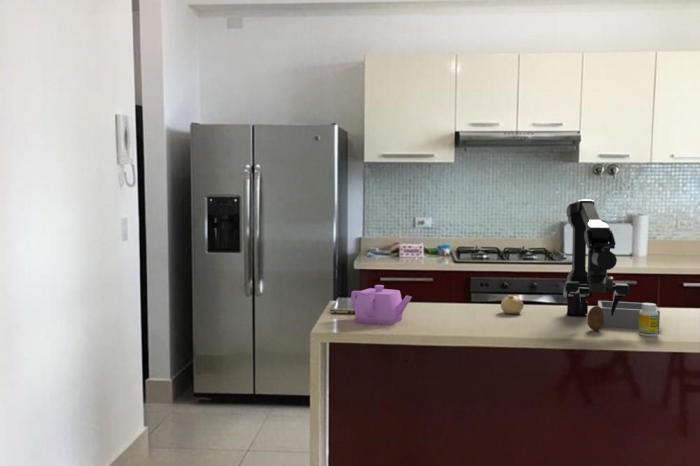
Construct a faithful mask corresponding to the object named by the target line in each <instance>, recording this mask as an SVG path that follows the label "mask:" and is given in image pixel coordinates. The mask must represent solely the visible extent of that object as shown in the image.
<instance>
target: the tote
mask: <svg viewBox="0 0 700 466" xmlns="http://www.w3.org/2000/svg"><path fill="white" fill-rule="evenodd" d="M612 302H613V300H612V301H610V300H597V306H599V307H600V308H601V309H602V311H603V314H604V325H603V327H614V328H624V329H625V328H627V329H628V328H629V329H639V312H640V310H643V308H642V303H643V302H631V301H630V302H628V301H619V302H618V303H617V306H616V308H615V311H614V314H613V316H611V308H612ZM655 311H657V312H658V331H659V330H660V319H661V318H660V316H661V315H660V314H661V311H660V309H659V308H658V305H656V309H655Z"/></svg>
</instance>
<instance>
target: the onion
mask: <svg viewBox="0 0 700 466" xmlns="http://www.w3.org/2000/svg"><path fill="white" fill-rule="evenodd" d="M500 303H501V304H500V308H501V310H502V311H503V313H505V314H516V315H517V314H520V313H521V312H522V311H523V309H524V302H523V300H522V299H521V298H520V297H519V296H516V295H510V294H507V296H505V297H504V298H503V299H502V300H501V302H500Z"/></svg>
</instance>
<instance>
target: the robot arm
mask: <svg viewBox="0 0 700 466" xmlns="http://www.w3.org/2000/svg"><path fill="white" fill-rule="evenodd" d="M566 216H567V222H568V223H569V225H570V227H571V228H572V245H571V246H572V249H571V250H572V253H571V254H572V255H571V256H572V258H571V259H572V260H571V265H572V266H571V270H570V271H569V273H568V274H567V276H566V281H565V283H564V287H563V290H562V293H563V297H564V298H565V299H567V303H566V304H567V306H566V308H567V309H566V310H567V311H566V316H570V317H571V316H572V317H575V316H576V317H587V315H588V313H589V301H587V299H589V300H591V298H592V293H602V294H603V293H606V292H613V295H612V301H613V302H612V308H611V316H613V314H614V311H615V308H616V306H617V303H618V302H620V300H621V298H625V297H626V296H630V286H629V284H628V283H624V282H623V283H619V282H615V284H614V283H613V282H614V277H613V276H608V270H612V269H614V268H615V267H616V265H617V261H618V258H617V257H616V254H615V253H613V252H612V251H611V250H615V248H616V241H615V236H614V233H613V230H612V229H611V228H610V227H609V225H608V224H607V223H606V222H604V221H602V220H601V218H600V216H599V214H598V212H597V209H596V207H595V200H592V199H580V200H577V201H576V202H573V203H570V204H569V205H567V208H566ZM587 249H588V250H587ZM586 260H587V261H586ZM586 264H587V267H586ZM586 268H587V270H586Z"/></svg>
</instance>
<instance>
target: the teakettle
mask: <svg viewBox="0 0 700 466" xmlns="http://www.w3.org/2000/svg"><path fill="white" fill-rule="evenodd" d="M384 287H385V285H382V284H375V285H374V288H372V287H370V288H366V289H363V290H352V291H351V296H350V304H349V307H350V308H351V309H353V310H354V311H355V312H354V316H355V317H354V318H355V321H356V322H357V323H359V322H362V323H361V324H367V323H370V324H369V325H377V324H383V325H382V326H393V325H395V324H397V323H398V321H399V322H401V321H402V319H403V316H404V311H405V309H406V307H407V306H408V304H409V303H410V301H411V299H412V296H410V295H405V297H404V298H403V299H402V294H401V291H400V290H398V289H392V288H391V289H388V288H384ZM400 320H401V321H400ZM396 322H397V323H396ZM394 323H395V324H394ZM392 324H393V325H392Z"/></svg>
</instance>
